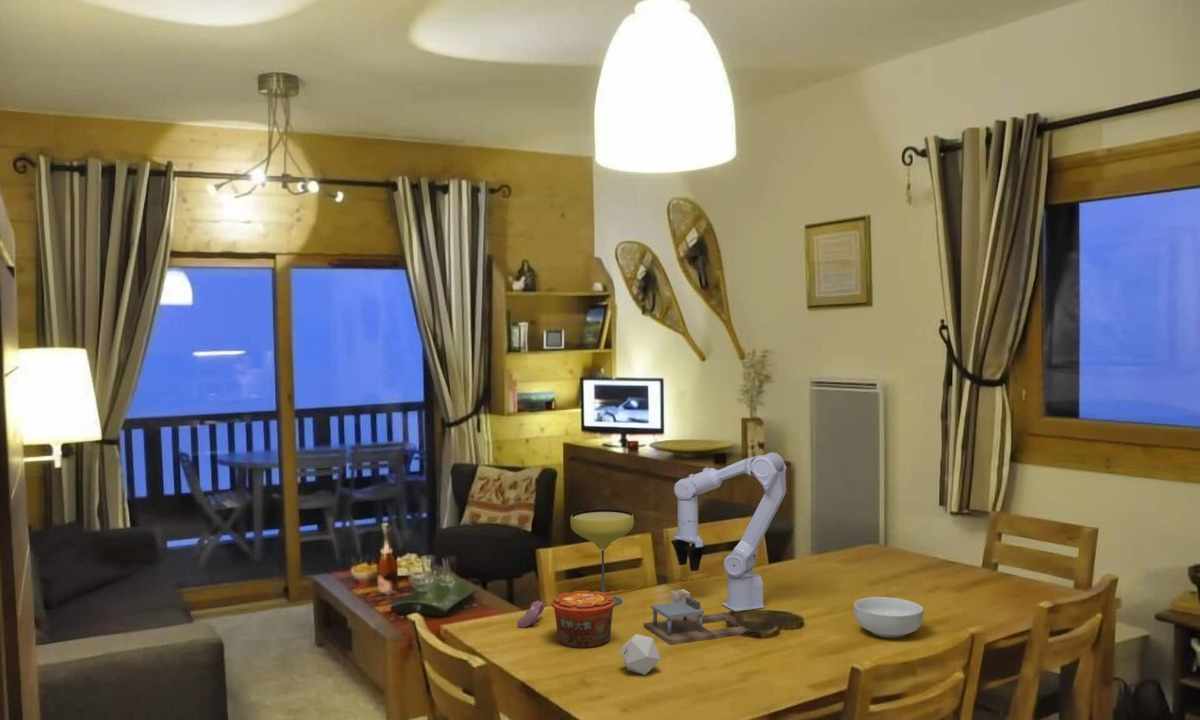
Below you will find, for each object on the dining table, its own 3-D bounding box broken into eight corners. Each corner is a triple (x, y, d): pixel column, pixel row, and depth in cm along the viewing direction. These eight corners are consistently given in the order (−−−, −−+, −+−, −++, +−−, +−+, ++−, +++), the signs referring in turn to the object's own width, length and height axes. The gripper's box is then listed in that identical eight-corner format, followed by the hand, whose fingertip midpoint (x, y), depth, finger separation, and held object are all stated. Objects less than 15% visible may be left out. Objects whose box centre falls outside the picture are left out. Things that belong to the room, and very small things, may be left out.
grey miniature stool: (686, 619, 255) (686, 595, 255) (704, 629, 246) (703, 604, 246) (651, 624, 252) (651, 599, 252) (668, 634, 243) (667, 609, 242)
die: (627, 665, 227) (609, 639, 222) (659, 646, 227) (642, 619, 223) (638, 689, 220) (620, 662, 215) (671, 669, 220) (654, 642, 216)
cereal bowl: (887, 648, 235) (886, 618, 234) (840, 629, 249) (839, 602, 249) (938, 636, 242) (938, 608, 242) (890, 619, 257) (889, 593, 257)
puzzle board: (725, 616, 263) (725, 612, 263) (755, 632, 248) (755, 628, 248) (643, 627, 254) (643, 623, 254) (670, 644, 239) (670, 640, 239)
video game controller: (530, 634, 255) (541, 611, 254) (515, 626, 255) (526, 603, 254) (539, 623, 264) (550, 601, 264) (524, 615, 265) (535, 593, 264)
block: (683, 607, 268) (683, 589, 268) (690, 611, 265) (689, 592, 265) (670, 609, 267) (670, 590, 267) (676, 612, 263) (676, 594, 263)
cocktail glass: (561, 607, 274) (560, 518, 273) (586, 591, 291) (585, 507, 290) (621, 613, 267) (620, 522, 266) (644, 596, 284) (642, 510, 283)
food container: (594, 654, 233) (593, 610, 233) (539, 644, 242) (538, 601, 241) (628, 636, 247) (627, 594, 246) (575, 627, 255) (574, 586, 255)
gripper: (664, 517, 284) (665, 563, 284) (686, 525, 270) (687, 574, 271) (686, 515, 286) (686, 561, 287) (709, 523, 273) (709, 572, 273)
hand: (688, 567), depth 279 cm, fingers open, 7 cm apart
